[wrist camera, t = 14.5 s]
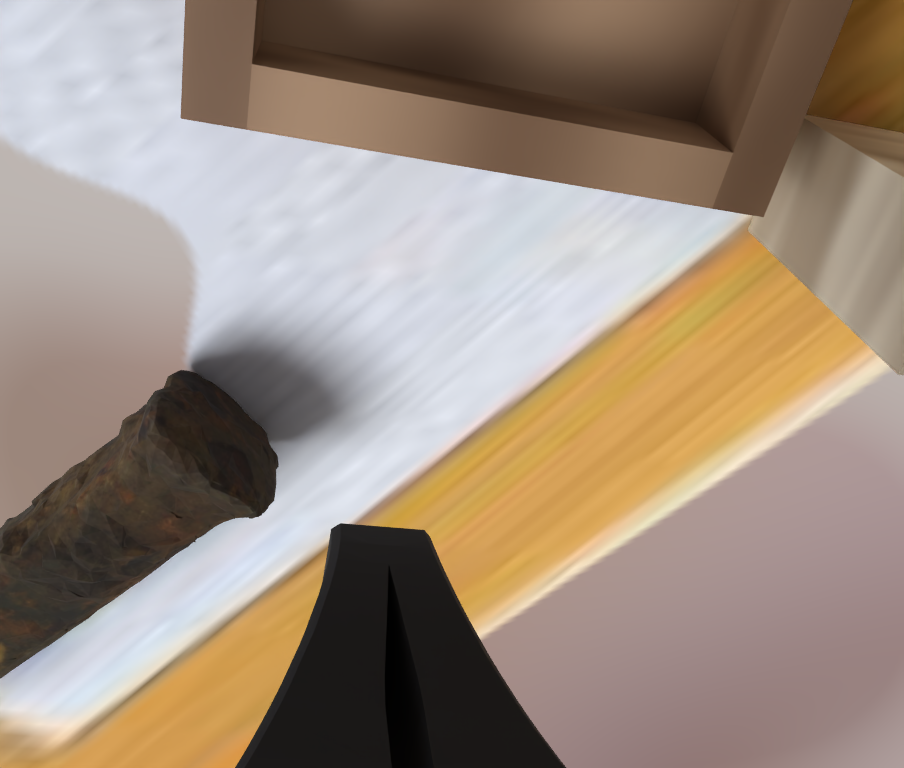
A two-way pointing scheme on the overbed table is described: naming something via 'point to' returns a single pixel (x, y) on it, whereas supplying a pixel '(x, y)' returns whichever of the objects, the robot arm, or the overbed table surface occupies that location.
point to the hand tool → (129, 511)
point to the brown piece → (528, 85)
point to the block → (845, 227)
